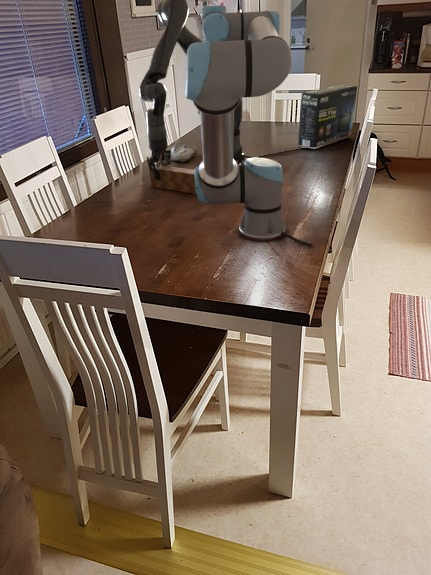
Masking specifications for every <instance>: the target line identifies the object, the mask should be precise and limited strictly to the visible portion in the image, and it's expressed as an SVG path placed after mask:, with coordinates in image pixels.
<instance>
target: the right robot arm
mask: <svg viewBox="0 0 431 575" xmlns="http://www.w3.org/2000/svg"><path fill="white" fill-rule="evenodd" d="M201 22H202V23H201V33H202V41H203V42H198V43H192V44H191V45H190V46H189V47H188V50H187V56H186V60H185V62H186V63H185V99H187V100H190V101H192V103H193V106H194V107H195V108H196V110H197V114H198V115H199V119H200V120H199V121H200V136H201V148H202V160H201V162H200V163H199V165H197V166H196V167H195V168H194V170H195V173H194V175H195V186H196V192H197V194H196V197H197V199H198V201H199V203H200V204H202V205H211V206H212V205H213V206H214V205H227V204H228V205H229V204H244V211H243V213H242V216H241V220H240V222H239V225H238V232H239V235H240V236H241V237H242V238H244V239H247V240H250V241H254V242H271V241H277V240H279V239H281V238H283V237H287V238H288V239H290V240H292V241H294V242H296V243H298V244H301V245H304V246H308V247H312V246H313V243H312V242H307V241H304V240H301V239H298V238H296V237H294V236H293V235H291V234H289V233H287V223H286V221H285V216H284V214H283V210H282V200H283V181H284V174H283V173H284V172H283V171H284V170H283V166H282V164H280V162H278V161H276V160H274V159H270V158H265V157H261V158H256V157H251V158H245V160H244V161H243V164H242V165H237V163H236V161H235V160H234V159H233V137H234V109H235V108H236V107H237V106H238V105H239V103H240V98H242V99H243V98H258V97H263V96H265V95H268V94H270V93H271V92H273V91H275V90H276V89H277V88H278V87H280V86H281V85H282V84H283V83H284V82H285V80H286V79H287V78H288V76H289V74H290V72H291V69H292V66H293V52H292V50H291V47H290V45H289V44H288V42H287V41H286V40H285V39H284V38H282V37H280V29H281V18H280V13H279V12H278V11H275V10H263V11H262V10H261V11H246V12H245V11H244V12H243V11H241V12H239V11H238V12H237V11H236V12H228V11H227V7H226V5H223V4H222V5H204V6H203V7H202V9H201Z"/></svg>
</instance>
